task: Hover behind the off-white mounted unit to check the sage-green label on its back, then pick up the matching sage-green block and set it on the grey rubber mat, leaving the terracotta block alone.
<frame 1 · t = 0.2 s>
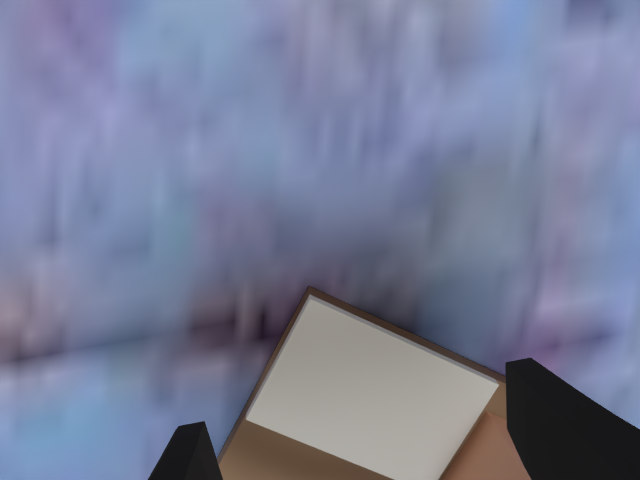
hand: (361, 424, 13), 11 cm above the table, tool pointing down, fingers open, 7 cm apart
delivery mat: (368, 383, 24), resting on service board
terracotta block: (500, 462, 25), point 1 cm above the table, touching service board
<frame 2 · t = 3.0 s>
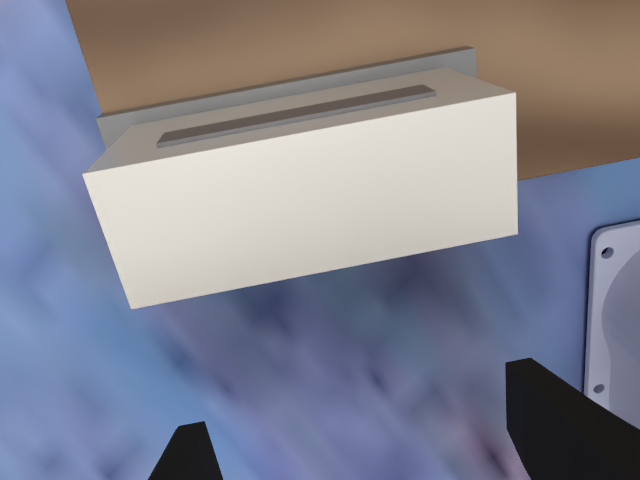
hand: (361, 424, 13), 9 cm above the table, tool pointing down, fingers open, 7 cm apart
mounted unit: (298, 146, 20), resting on service board
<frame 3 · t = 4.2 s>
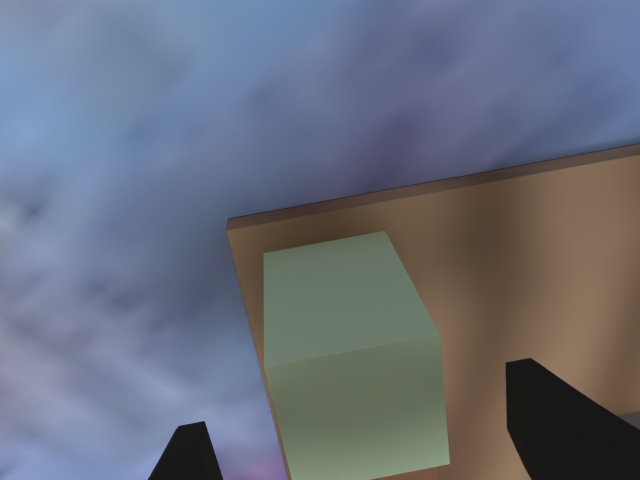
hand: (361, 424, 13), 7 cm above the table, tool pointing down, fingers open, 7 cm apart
sage block: (333, 294, 18), point 1 cm above the table, touching service board
terracotta block: (376, 472, 22), point 1 cm above the table, touching service board
service board: (464, 435, 23), on the table
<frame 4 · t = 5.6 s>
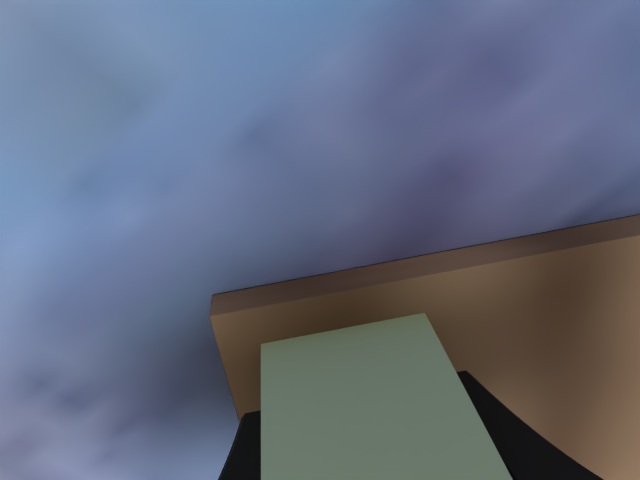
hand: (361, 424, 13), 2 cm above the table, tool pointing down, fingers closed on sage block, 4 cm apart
sage block: (354, 393, 14), point 1 cm above the table, touching gripper, service board
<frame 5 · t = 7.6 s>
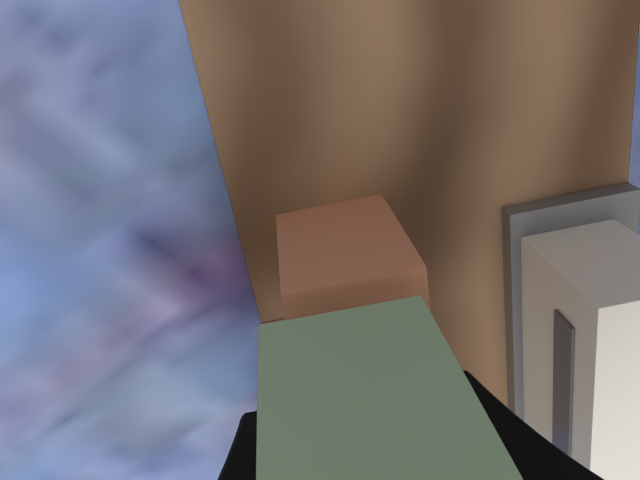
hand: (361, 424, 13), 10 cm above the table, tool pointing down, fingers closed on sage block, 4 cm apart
mounted unit: (551, 312, 24), resting on service board
sage block: (350, 376, 14), point 9 cm above the table, touching gripper
terracotta block: (337, 252, 21), point 1 cm above the table, touching service board
service board: (431, 222, 22), on the table
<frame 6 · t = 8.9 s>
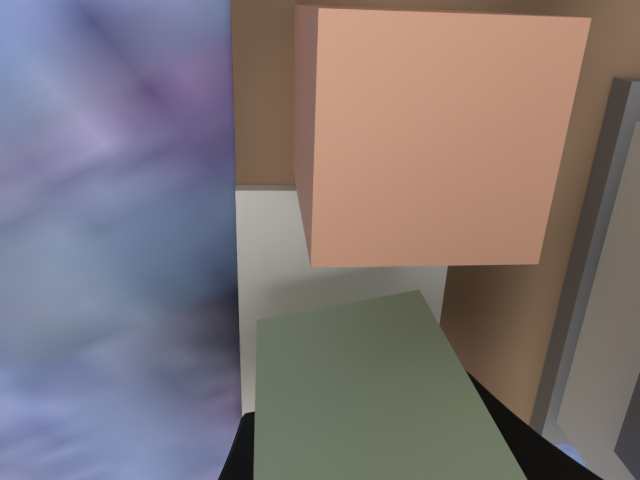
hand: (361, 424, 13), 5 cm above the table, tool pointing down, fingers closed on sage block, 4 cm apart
mounted unit: (621, 262, 18), resting on service board
sage block: (349, 371, 14), point 4 cm above the table, touching gripper
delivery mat: (334, 308, 18), resting on service board
terracotta block: (371, 92, 14), point 1 cm above the table, touching service board
service board: (504, 89, 15), on the table
when the fingers open (4 cm above the table, at t = 10.0 s): sage block drops 1 cm, resting on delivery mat.
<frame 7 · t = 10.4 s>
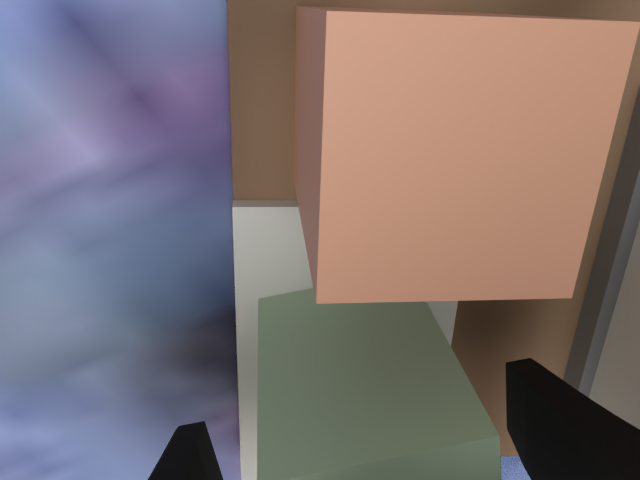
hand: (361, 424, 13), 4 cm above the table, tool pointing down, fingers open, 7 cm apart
sage block: (344, 346, 15), point 1 cm above the table, touching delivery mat
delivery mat: (338, 328, 17), resting on service board
terracotta block: (379, 100, 13), point 1 cm above the table, touching service board
service board: (521, 96, 14), on the table
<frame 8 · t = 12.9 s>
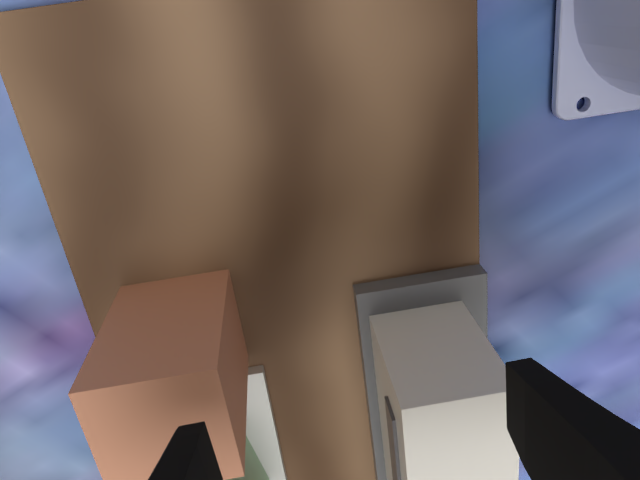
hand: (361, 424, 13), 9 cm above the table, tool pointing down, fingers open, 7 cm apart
mounted unit: (417, 381, 24), resting on service board
sage block: (208, 462, 23), point 1 cm above the table, touching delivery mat
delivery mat: (214, 442, 25), resting on service board
terracotta block: (187, 323, 21), point 1 cm above the table, touching service board
service board: (289, 293, 22), on the table
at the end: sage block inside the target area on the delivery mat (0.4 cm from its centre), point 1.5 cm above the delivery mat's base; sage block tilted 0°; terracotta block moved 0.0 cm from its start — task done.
